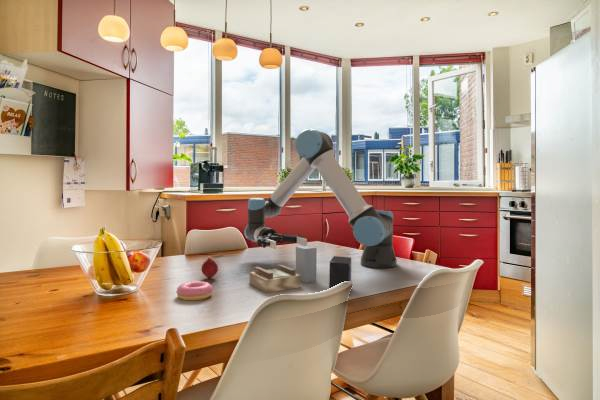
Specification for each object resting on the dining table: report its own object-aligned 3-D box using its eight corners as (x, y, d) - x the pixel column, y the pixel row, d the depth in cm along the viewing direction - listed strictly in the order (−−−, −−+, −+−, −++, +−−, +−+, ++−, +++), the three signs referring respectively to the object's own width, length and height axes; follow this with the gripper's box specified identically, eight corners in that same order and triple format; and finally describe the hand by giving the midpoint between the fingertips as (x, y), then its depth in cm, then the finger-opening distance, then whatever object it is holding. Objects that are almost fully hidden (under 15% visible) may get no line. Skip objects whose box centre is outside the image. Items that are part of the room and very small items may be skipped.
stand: (282, 278, 146) (282, 263, 146) (300, 287, 135) (301, 270, 135) (249, 283, 139) (249, 267, 139) (266, 292, 128) (266, 274, 128)
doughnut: (183, 291, 130) (182, 279, 130) (216, 292, 129) (216, 279, 129) (171, 302, 119) (171, 288, 119) (208, 302, 119) (207, 288, 118)
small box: (349, 296, 124) (349, 262, 124) (328, 295, 126) (328, 262, 125) (351, 287, 135) (352, 256, 134) (332, 286, 136) (332, 255, 136)
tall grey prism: (307, 277, 148) (307, 245, 148) (316, 281, 143) (316, 247, 143) (295, 279, 146) (295, 246, 145) (304, 282, 141) (304, 248, 140)
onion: (221, 277, 148) (220, 256, 147) (211, 281, 143) (211, 258, 142) (208, 276, 150) (208, 254, 150) (198, 279, 145) (198, 257, 145)
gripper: (291, 243, 177) (318, 250, 159) (238, 247, 164) (261, 256, 146) (291, 226, 177) (318, 232, 159) (238, 229, 164) (261, 236, 146)
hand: (291, 243), depth 152 cm, fingers open, 13 cm apart
